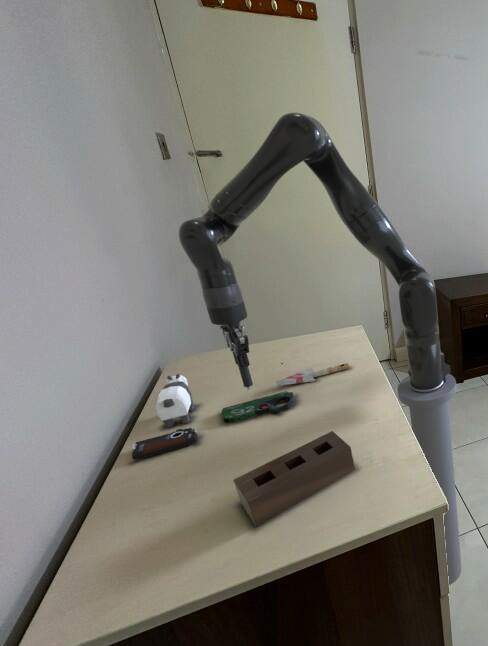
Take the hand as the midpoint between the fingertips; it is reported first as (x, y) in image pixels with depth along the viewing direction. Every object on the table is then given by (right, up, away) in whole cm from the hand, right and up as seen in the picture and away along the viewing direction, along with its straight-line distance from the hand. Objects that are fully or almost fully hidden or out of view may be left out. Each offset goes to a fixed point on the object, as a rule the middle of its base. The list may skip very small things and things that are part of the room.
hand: (243, 364), depth 102 cm
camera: (-10, -18, -10) cm, 23 cm away
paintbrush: (+10, -6, +18) cm, 21 cm away
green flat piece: (+3, -12, +2) cm, 13 cm away
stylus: (0, -7, +3) cm, 7 cm away
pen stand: (+27, -22, -22) cm, 41 cm away
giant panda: (-17, -13, +1) cm, 21 cm away
